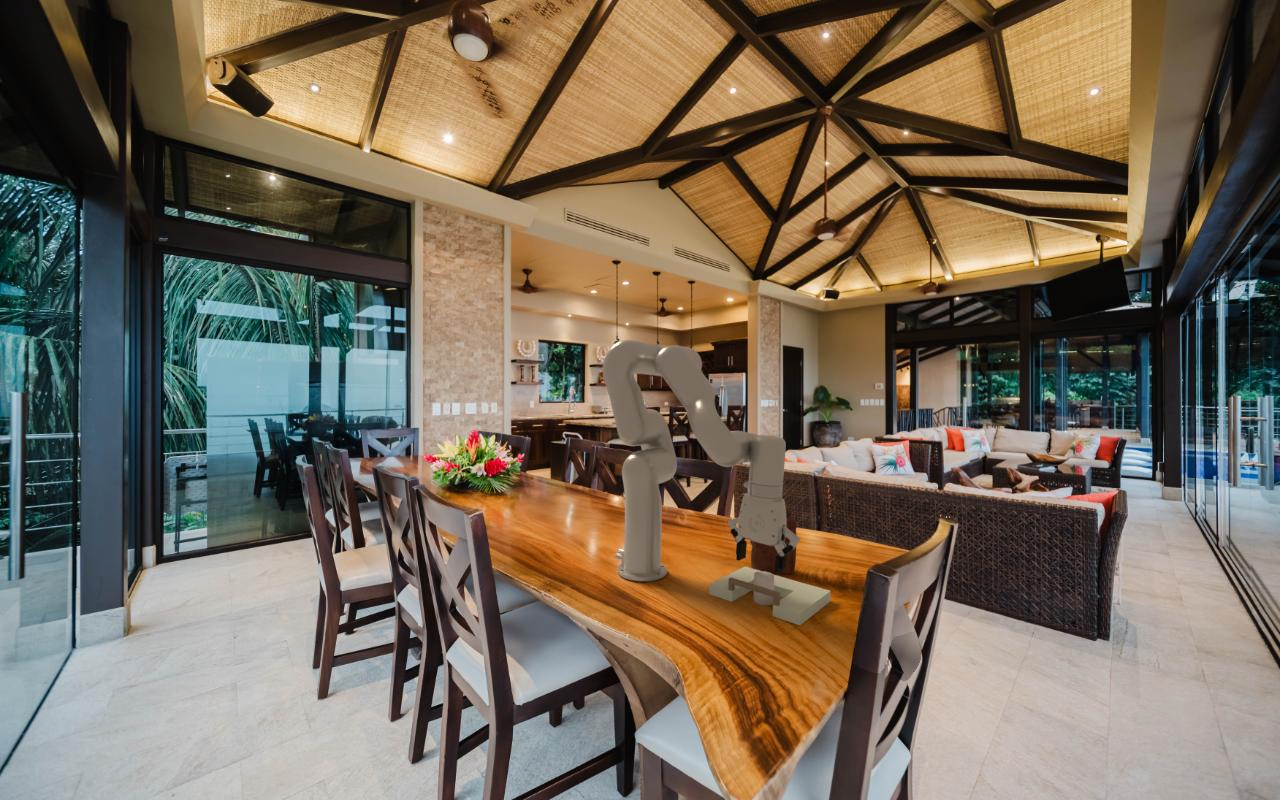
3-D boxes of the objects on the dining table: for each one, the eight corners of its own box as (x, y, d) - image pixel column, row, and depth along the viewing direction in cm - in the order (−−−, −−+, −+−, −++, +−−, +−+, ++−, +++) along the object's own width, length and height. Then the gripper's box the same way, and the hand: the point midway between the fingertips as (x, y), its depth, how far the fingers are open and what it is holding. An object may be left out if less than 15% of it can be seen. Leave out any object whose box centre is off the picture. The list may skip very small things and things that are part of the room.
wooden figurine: (794, 568, 134) (796, 501, 134) (795, 576, 128) (797, 506, 127) (749, 563, 137) (751, 498, 137) (748, 571, 131) (750, 503, 131)
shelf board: (709, 594, 116) (709, 572, 116) (744, 575, 128) (745, 556, 128) (799, 625, 101) (800, 601, 101) (830, 601, 113) (830, 579, 113)
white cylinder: (750, 601, 113) (750, 574, 112) (759, 595, 116) (760, 569, 116) (767, 607, 110) (768, 580, 109) (777, 601, 113) (777, 574, 113)
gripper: (723, 485, 115) (718, 558, 116) (794, 501, 104) (788, 581, 105) (740, 481, 121) (735, 551, 122) (809, 496, 109) (803, 572, 110)
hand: (759, 565), depth 113 cm, fingers open, 9 cm apart
